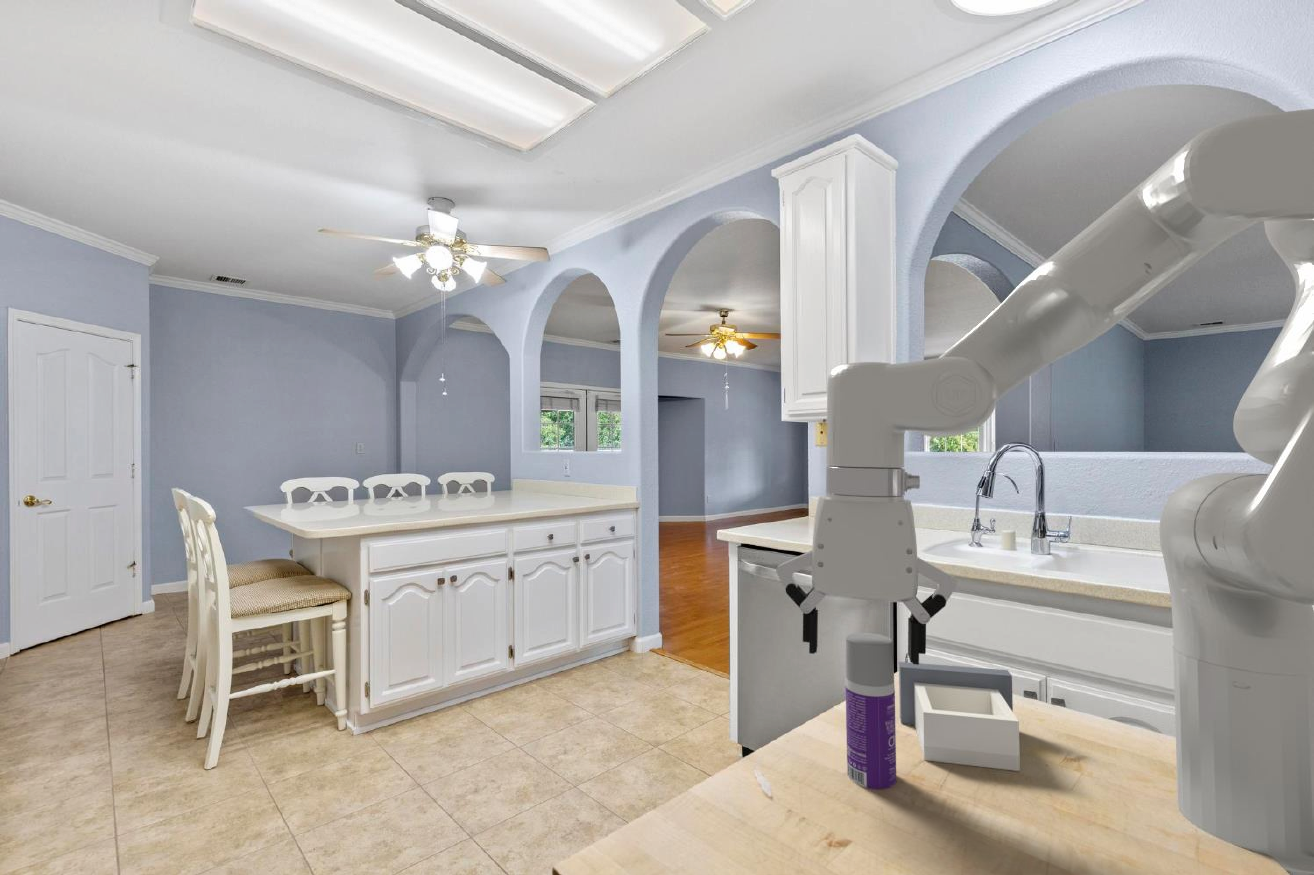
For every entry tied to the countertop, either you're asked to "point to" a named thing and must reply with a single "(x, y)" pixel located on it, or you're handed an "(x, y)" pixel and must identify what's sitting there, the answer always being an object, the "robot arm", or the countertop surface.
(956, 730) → the socket block
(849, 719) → the container
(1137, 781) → the countertop surface
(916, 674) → the track
